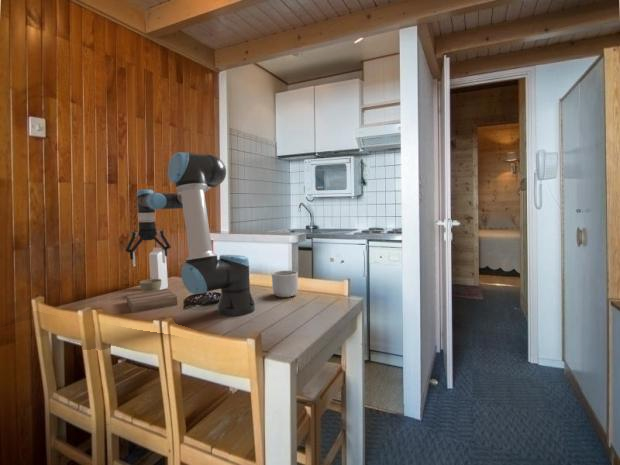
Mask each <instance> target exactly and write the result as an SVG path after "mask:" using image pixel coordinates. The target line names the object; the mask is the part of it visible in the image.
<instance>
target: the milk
mask: <svg viewBox="0 0 620 465" xmlns="http://www.w3.org/2000/svg"><path fill="white" fill-rule="evenodd" d="M162 250H163V249H162V247H152V251H151V252H150V253H148V259H149V260H148V261H149V278H150V279H161V280H162V282H161V287H160V290H161V289H169V285H168V284H169V283H168V266H167V263H168V262H167V256H165V263H163V258H162Z"/></svg>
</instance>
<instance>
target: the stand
mask: <svg viewBox="0 0 620 465" xmlns="http://www.w3.org/2000/svg"><path fill="white" fill-rule="evenodd" d="M177 296H178V295H176V294H175V293H174V292H173V291H171V289H169V288H165V289H161V290H155V291H148V292H143V291H142V292H135V293H131V294H129V293H128V294H126V304H127V306H128V308H129V310H130V311H131V313H132V314H133V313H140V312H145V311H146V312H147V311H150V310H157V309H162V308H168V307H175V306H178V297H177Z"/></svg>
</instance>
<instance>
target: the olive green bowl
mask: <svg viewBox="0 0 620 465" xmlns="http://www.w3.org/2000/svg"><path fill="white" fill-rule="evenodd" d="M161 282H162V280H161V279H142V280H140V282H139V285H140V288H141V290H142V292H148V291H155V290H160V287H161Z"/></svg>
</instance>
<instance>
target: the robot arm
mask: <svg viewBox="0 0 620 465" xmlns="http://www.w3.org/2000/svg"><path fill="white" fill-rule="evenodd" d="M226 176H227V167H226V165H225V163H224V162H223V160H222V159H220V158H219V157H218V156H216V155H212V154H206V153H204V154H203V153H196V152H195V153H194V152H187V151H186V152H178V151H177V152H175V153H173V154H172V156H171V157H170V159H169V162H168V166H167V178H168V180H169V182H170V183H172V184H175V189H176V191H178V192H175V193H173V192H172V193H169V192H165V193H163V192H154V190H153V189H138V190H137V191H136V200H137V201H136V202H137V218H138V231H136V232H135V231H132V232H131V237H130V239H129V241H128V243H127V245H126V247H125V249H124V251H125V252H126V253H129V259H130V260H132V266H133V267H136V254H135V251H136V249H137V248H138V247H139V245H140V244H141V243H142V242H143V241H144V242H145V241H153V240H154V242H155V243H157V244H158V245H159V246H160V248H161V250H162V258H163V263H165V256H166V257H167V256H168V250H169V249H171V248H172V246H171V245H170V243H169V242H168V240H167V238H166V236H165V235H164V231H163V230H160V229H159V230H157V225H156V213H155V212H156V210H158V211H159V210H175V209H176V210H178V209H179V210H182V212H183V219H184V225H185V233H186V240H187V248H188V256H187V257H186V258H185V264H184V265H182V267H181V269H180V270H181V271H180V273H181V274H180V275H181V280H182V283H183V285H184V288H186V290H187V291H188V292H189V293H191V294H193V295H197V294H198V295H199V294H206V293H207V292H214V291H219V290H220V292H221V293H220V297H219V300H218V303H217V313H218V314H219V315H221V316H228V317H231V316H233V317H234V316H243V315H246V314H250V313H252V312H254V311H255V310H256V304H255V300H254V299H253V295H252V292H251V287H250V286H251V285H250V262H249V258H248V257H247V256H245V255H237V254H221V255H219V259H218V255H217V254H216V253H215V252H214V251H213V247H212V238H211V233H210V225H209V218H208V210H207V204H206V203H207V202H206V197H205V195H206V194H205V193H206V192H207V191H210V189H211V188H216V187H217V188H218V186H220V185H221V184H222V183H223V182H224V180H225V178H226ZM157 235H158V236H160V237H161V240H162V241H163V242H164V243H163V242H162V241H160V240H159V239H158V238H157V237H156V236H157ZM137 236H139V238H138V239H137V241H136V242H135V243H134V240H135V238H136V237H137ZM133 243H134V245H132V244H133Z"/></svg>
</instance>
